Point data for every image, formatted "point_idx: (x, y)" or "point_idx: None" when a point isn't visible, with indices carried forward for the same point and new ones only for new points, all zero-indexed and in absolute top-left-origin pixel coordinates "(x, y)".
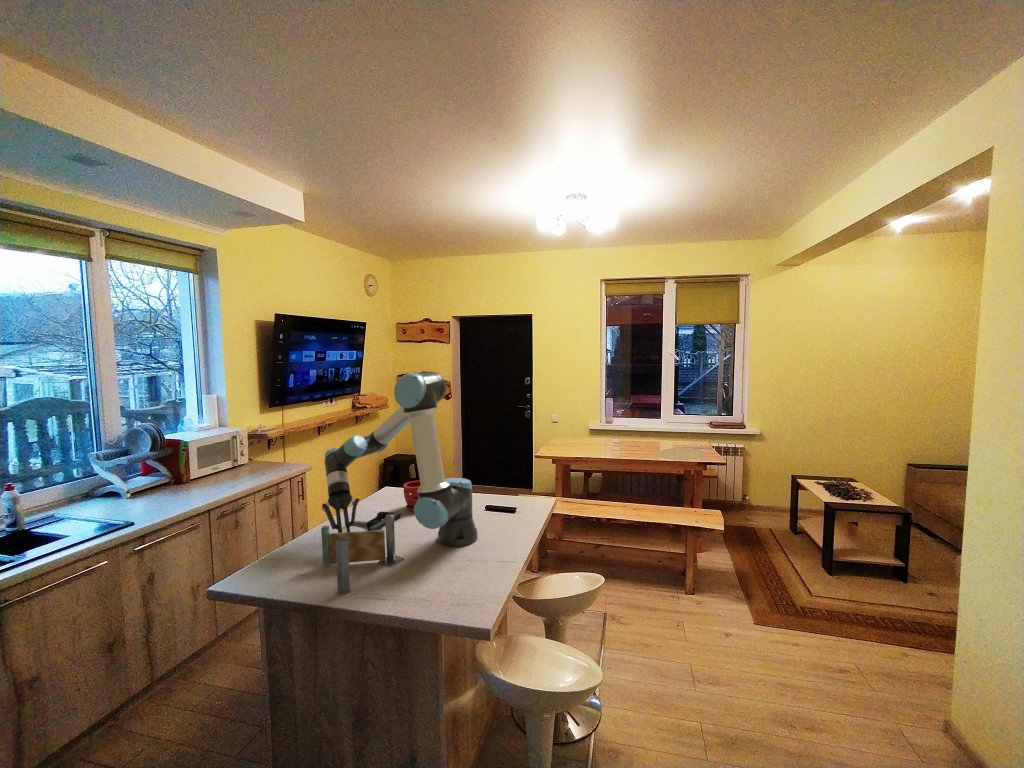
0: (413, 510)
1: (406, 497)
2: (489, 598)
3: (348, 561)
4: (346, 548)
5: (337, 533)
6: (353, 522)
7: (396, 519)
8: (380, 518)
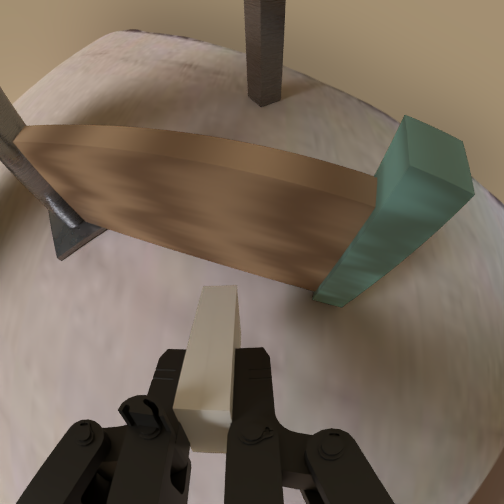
0: None
1: None
2: (67, 63)
3: (245, 19)
4: None
5: (291, 170)
6: (83, 421)
7: None
8: None
